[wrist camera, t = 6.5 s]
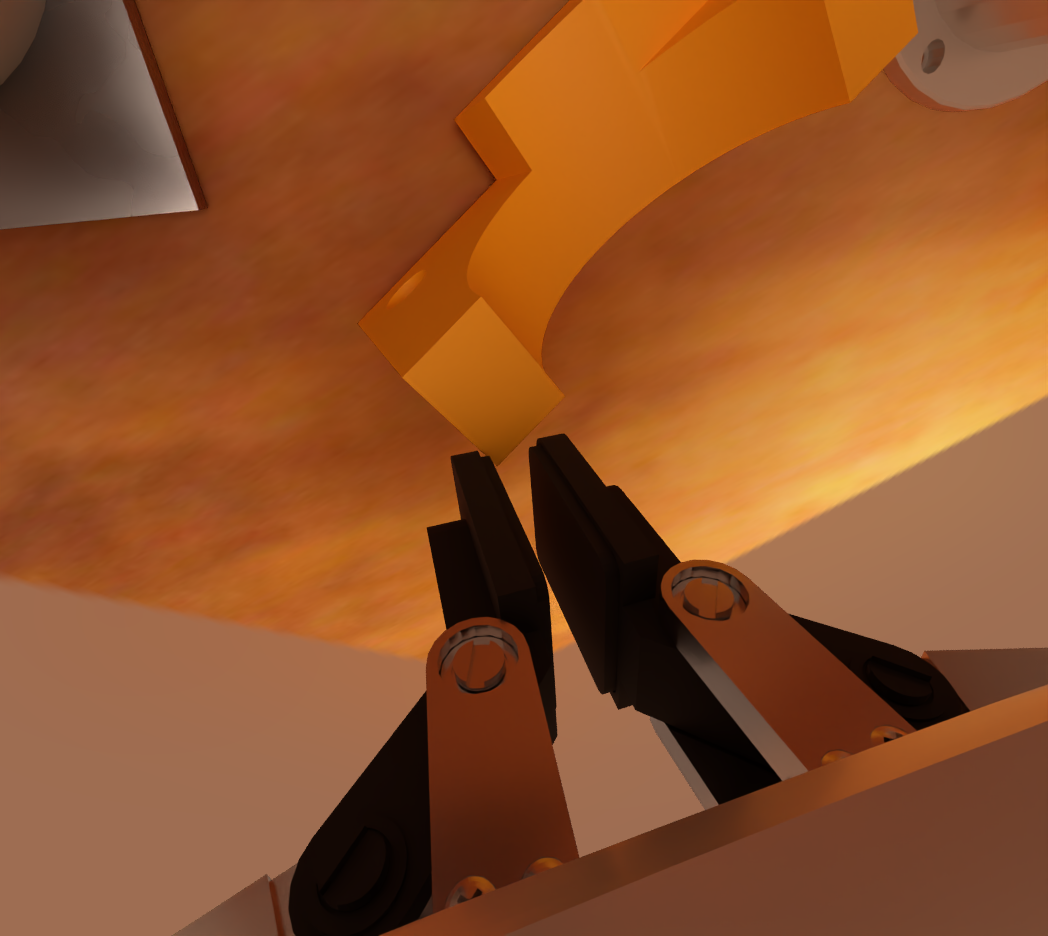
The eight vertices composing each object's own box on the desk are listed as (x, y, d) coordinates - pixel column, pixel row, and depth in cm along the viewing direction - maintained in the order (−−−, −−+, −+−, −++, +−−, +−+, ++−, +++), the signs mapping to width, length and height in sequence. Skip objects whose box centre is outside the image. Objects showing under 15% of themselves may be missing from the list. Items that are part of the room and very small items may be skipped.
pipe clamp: (628, -61, 13) (866, -266, 8) (698, 103, 16) (918, 32, 10) (304, 273, 13) (317, 299, 8) (423, 386, 16) (497, 465, 10)
